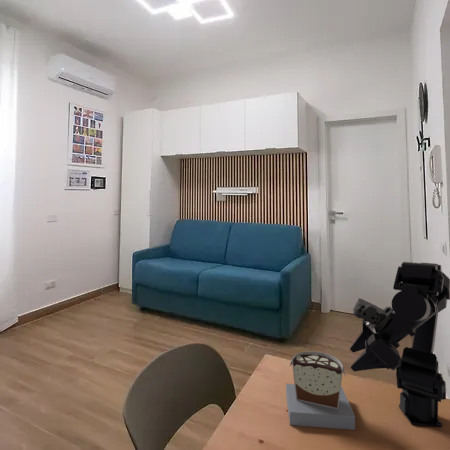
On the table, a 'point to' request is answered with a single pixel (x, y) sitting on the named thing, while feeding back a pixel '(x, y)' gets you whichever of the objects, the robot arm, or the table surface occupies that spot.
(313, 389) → the food container
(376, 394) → the table surface
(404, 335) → the robot arm
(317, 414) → the base block
